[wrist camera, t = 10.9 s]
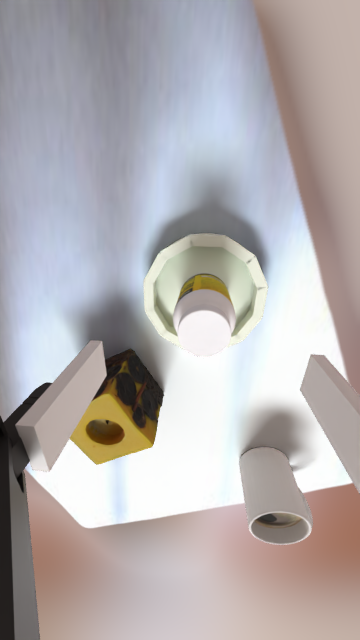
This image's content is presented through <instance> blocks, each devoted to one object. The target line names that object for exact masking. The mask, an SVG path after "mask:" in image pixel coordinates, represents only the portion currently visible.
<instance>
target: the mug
mask: <svg viewBox="0 0 360 640" xmlns="http://www.w3.org/2000/svg"><path fill="white" fill-rule="evenodd" d="M239 466H240V473H241V480H242V486H243V493H244V500H245V506H246V513H247V520H248V526H249V530H250V532H251V534H252V535H253V536H254V537H255V538H257V539H259V540H260V541H263V542H266V543H270V544H278V545H285V544H293V543H297V542H299V541H302V540H304V539H305V538H306V537H308V536H309V534H310V533H311V528H312V525H313V521H312V515H311V511H310V507H309V505H308V503H307V501H306V499H305V497H304V495H303V493H302V492H301V490H300V489H299V488H298V486H297V484H296V481H295V478H294V475H293V472H292V470H291V467H290V464H289V461H288V459H287V457H286V456H285V454H284V453H282V452H281V451H279V450H277V449H274V448H270V447H257V448H253V449H251V450H248V451H247V452H245V453H244V454H243V455H242V456H241V458H240V461H239Z"/></svg>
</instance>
